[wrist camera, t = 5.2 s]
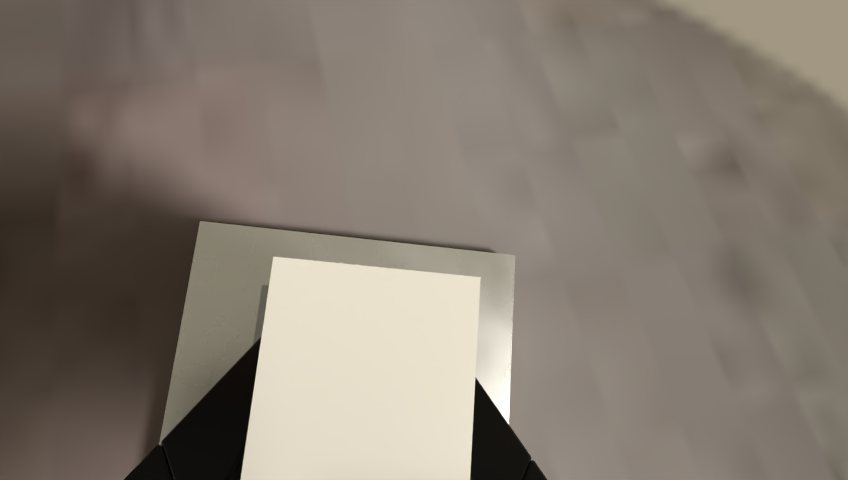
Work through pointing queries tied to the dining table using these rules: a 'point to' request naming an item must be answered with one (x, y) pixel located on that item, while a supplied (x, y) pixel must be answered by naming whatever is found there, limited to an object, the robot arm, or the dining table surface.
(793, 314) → the dining table surface
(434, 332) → the cream rectangular block
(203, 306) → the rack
